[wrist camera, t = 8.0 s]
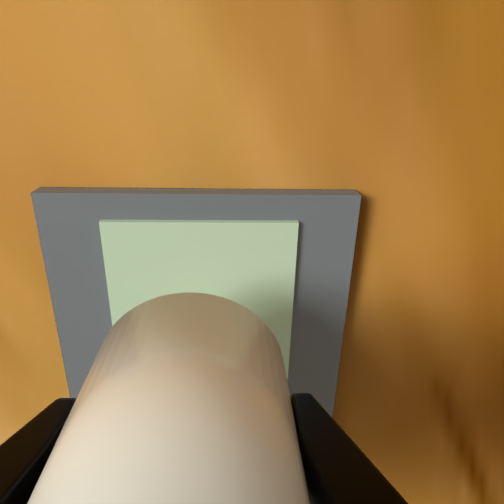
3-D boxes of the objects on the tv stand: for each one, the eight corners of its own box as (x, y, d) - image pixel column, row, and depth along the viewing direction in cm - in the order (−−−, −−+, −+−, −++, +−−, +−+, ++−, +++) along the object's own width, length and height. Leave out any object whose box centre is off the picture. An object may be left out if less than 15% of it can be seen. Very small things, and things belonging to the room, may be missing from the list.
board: (315, 510, 18) (319, 529, 17) (100, 518, 17) (95, 538, 17) (355, 189, 12) (363, 197, 12) (40, 186, 12) (27, 195, 11)
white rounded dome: (283, 436, 11) (338, 803, 5) (113, 447, 11) (-6, 834, 5) (284, 287, 9) (366, 603, 4) (82, 297, 9) (-145, 642, 4)
